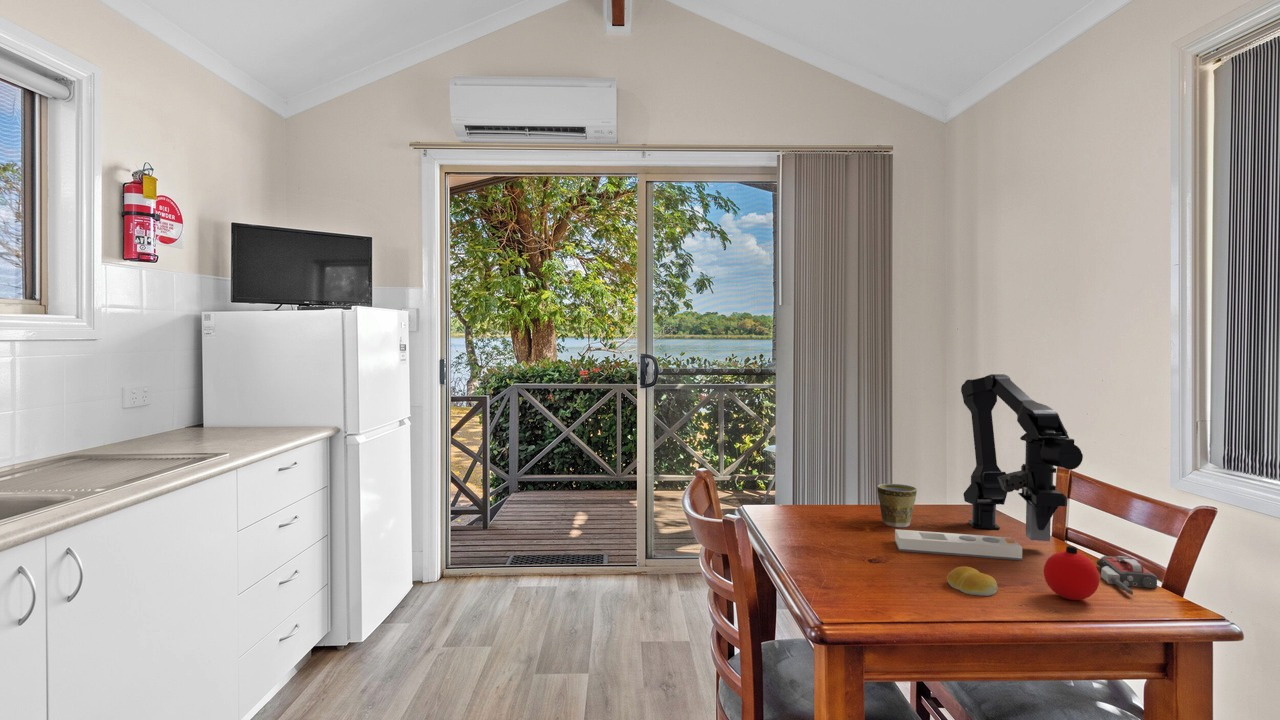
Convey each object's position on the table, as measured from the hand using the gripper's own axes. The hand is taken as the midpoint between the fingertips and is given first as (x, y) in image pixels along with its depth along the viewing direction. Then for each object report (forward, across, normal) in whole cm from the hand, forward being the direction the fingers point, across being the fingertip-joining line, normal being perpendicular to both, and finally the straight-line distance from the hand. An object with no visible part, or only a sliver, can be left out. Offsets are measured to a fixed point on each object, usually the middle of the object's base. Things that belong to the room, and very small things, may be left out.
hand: (1037, 527), depth 159 cm
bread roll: (+6, +32, -21) cm, 39 cm away
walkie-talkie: (+6, +20, +11) cm, 23 cm away
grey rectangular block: (+3, 0, 0) cm, 3 cm away
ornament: (+6, +33, -4) cm, 34 cm away
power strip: (+5, +6, -19) cm, 21 cm away
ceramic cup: (+6, -17, -30) cm, 35 cm away
